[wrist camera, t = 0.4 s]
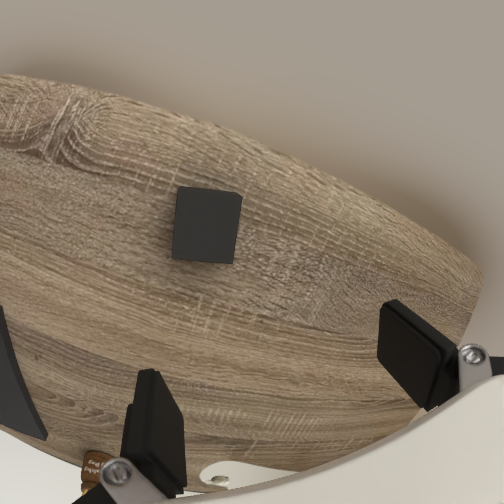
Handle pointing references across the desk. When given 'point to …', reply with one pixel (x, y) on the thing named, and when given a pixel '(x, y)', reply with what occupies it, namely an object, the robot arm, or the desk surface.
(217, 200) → the small black box
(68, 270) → the desk surface
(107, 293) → the desk surface
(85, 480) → the utensil holder
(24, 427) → the big pad
